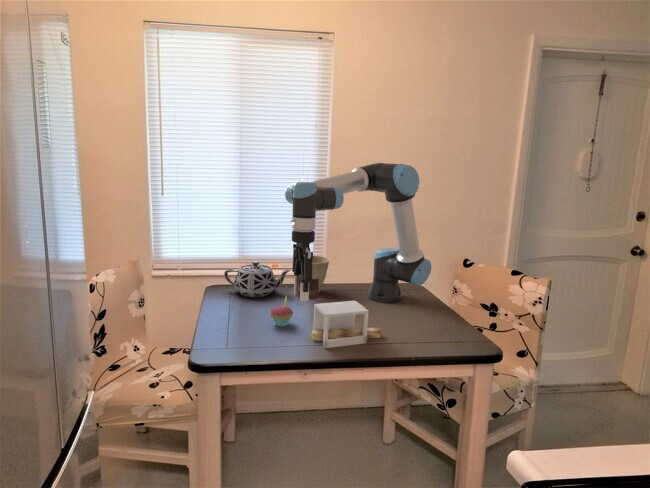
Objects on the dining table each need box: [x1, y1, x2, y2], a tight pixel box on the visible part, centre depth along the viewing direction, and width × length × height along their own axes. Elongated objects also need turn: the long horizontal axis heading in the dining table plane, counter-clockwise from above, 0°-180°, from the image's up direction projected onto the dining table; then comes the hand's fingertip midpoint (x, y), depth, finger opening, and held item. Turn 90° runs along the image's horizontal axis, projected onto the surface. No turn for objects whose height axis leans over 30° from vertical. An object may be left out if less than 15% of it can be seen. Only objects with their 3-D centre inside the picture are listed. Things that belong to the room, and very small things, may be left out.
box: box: [295, 274, 319, 301], centre depth 153 cm, size 6×6×7 cm
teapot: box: [223, 260, 292, 298], centre depth 207 cm, size 19×31×15 cm, turn 88°
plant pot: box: [312, 255, 330, 294], centre depth 213 cm, size 15×15×16 cm
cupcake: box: [269, 295, 294, 327], centre depth 172 cm, size 9×8×12 cm
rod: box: [310, 327, 382, 342], centre depth 164 cm, size 25×3×3 cm, turn 102°
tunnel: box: [312, 300, 369, 349], centre depth 161 cm, size 16×11×12 cm
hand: (301, 297), depth 153 cm, fingers closed on box, 6 cm apart
